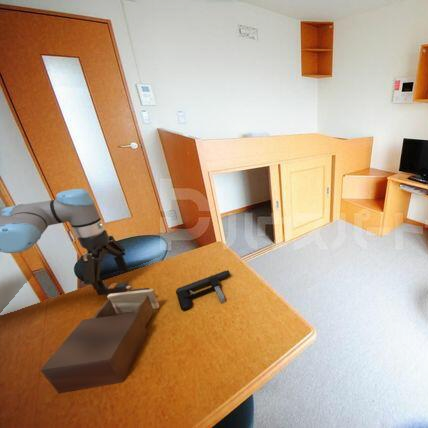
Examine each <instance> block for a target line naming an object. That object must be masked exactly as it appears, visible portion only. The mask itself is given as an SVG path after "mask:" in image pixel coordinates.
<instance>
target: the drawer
mask: <svg viewBox="0 0 428 428" xmlns="http://www.w3.org/2000/svg"><path fill="white" fill-rule="evenodd" d="M106 298H107V299H106V301H105V302H104V303H103V304H102V305H101V307H100V308H99V309H98V310H97V312H96V313H95V314H94V315H93V317H92V318H100V317H107V316H115V315H123V314H131V313H138V312H139V314H140V317H141V319H142V321H143V324H144V326H145V327H146V326H147V324H148V323H149V321H150V319H151V317H152V316H153V313H154V312H155V310H154V309H159V308H160V303H159V300H158V298H157V295H156V293H155V290H154V288H150V287H141V288H134V289H128V291H126V292H118V293H110V294H107V296H106Z"/></svg>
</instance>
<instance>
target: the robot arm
mask: <svg viewBox="0 0 428 428" xmlns="http://www.w3.org/2000/svg"><path fill="white" fill-rule="evenodd" d="M55 197H56V198H55V199H51V200H45V201H37V202H30V203H20V204H17V205H12V206H7V207H4V208H3V209H2V210H1V214H0V252H1V253H4V254H17V253H18V254H19V253H23V252H25V251H27V250H29V249H31V248H32V247H33V246H34V245H36V243H38V242H39V240H40V239H41V237H42V235H43V234H44V233H45V231H46V230H47V228H48V227H49V226H53V225H54V226H55V225H59V224H63V223H69V225H70V226H71V229H72V231H73V233H74V235H75V237H76V238H77V241H78V243H79V244H80V246H81V248H83V249H85V250H86V254H82V255H81V256H80V260H81V262H82V276H83V284H84V285H85V286H86V285H91V286H92V288H93V289H94V290H95V291H96V293H97V296H106V295H109V294H108V291H107V289H106V287H105V286H106V285H105V283H104V282H103V280H102V278H100V274H101V264H102V262H103V260H104V257H105V256H106V255H107V254H109V255H111V256H113V259H114V262H115V264H116V266H117V268H118V270H119V272H123V271H128V270H129V268H128V265H127V263H126V261H125V257H124V256H125V255H126V252H125V251H126V249H125V248H124V247H123V246H122V245H121V244H120V243H119V242H118V241H117V240H115V238H114V236H113V235H109V234H108V232H107V230H106V227H105V225H104V223H103V221H102V219H101V216H100V213H99V211H98V209H97V207H96V204H95V201H94V200H93V198H92V196H91V194H90V193H89V191H88V190H87V189H84V188H72V189H68V190H62V191H60V192H58V193H56V195H55Z"/></svg>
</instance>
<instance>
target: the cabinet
mask: <svg viewBox="0 0 428 428" xmlns="http://www.w3.org/2000/svg"><path fill="white" fill-rule="evenodd" d="M148 333H149V332H148V330H147V328H146V326H144V324H143V321H142V319H141V317H140V314H139V312H138V313H131V314H123V315H115V316H107V317H100V318H93V317H91V318H86V319H82V320H81V321H80V322H79V324H78V325H76V327H75V328H74V329H73V330H72V332H71V333H70V334H69V335H68V336H67V337H66V338H65V340H64V341H63V342H62V343H61V344H60V346H59V347H57V349H56V351H55V352H54V353H53V354H52V355H51V356H50V358H49V359H48V360H47V361H46V363H45V364H43V366H42V367H41V368H40V369H39V371H40V372H41V373H42V374H43V376H44V377H45V378H46V379H47V381H48V382H49V383H50V385H51V386H52V387H53V388H54V390H55V391H56V392H57V394H64V393H69V392H75V391H80V390H86V389H91V388H97V387H98V388H99V387H103V386H108V385H109V386H110V385H115V384H120V383H124V382H125V380H126V378H127V377H128V375H129V372H130V370H131V369H132V366H133V364H134V363H135V360H136V358H137V357H138V355H139V353H140V351H141V349H142V347H143V345H144V343H145V341H146V339H147V338H148V335H149V334H148Z"/></svg>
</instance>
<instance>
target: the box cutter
mask: <svg viewBox="0 0 428 428" xmlns="http://www.w3.org/2000/svg"><path fill="white" fill-rule="evenodd" d="M105 287H106V289H107V291H108V294H107V295H109V294H114V293H123V292H128V290H131V285H129V284H128V282H127V281H125V282H124V281H123V282H113V283H107V284H106V285H105Z"/></svg>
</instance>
